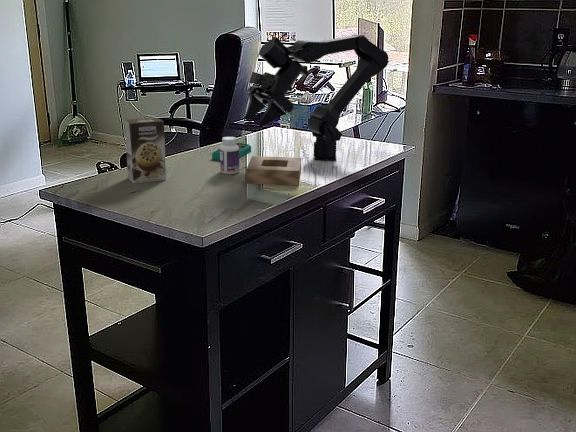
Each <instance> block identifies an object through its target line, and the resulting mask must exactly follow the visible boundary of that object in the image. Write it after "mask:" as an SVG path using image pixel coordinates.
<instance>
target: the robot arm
mask: <svg viewBox="0 0 576 432" xmlns="http://www.w3.org/2000/svg"><path fill="white" fill-rule="evenodd" d="M352 50H353V52H354V53H355V55H356V56H357V57H358V58H359V59H358V61H357V65H356V69H355V70H354V71H353V72H352V73H351V75H350V77H349V78H348V79H347V80H346V81H345V83H344V84H343V85H342V86H341V88H339V90H338V91H337V92H336V93H335V95H334V96H333V97H332V98H331V100H330V101H329V102H328V104H327V105H324V106H323V105H319V104H318V105H317V106H316V107H315V108H314V111H313V112H311V113H310V114H309V119H308V121H307V125H308V129H309V130H310V132H311V134H312V137H315V141H313V158H314V160H315V161H337V142H338V141H341V139H342V135H343V133H342V132H341V131H340V130H339V129H338V127H337V126H338V124H339V121H340V117H341V114H342V113H343V112H344V110H345V109H346V108H347V106H348V105H349V104H350V103H351V102H352V100H353V99H354V98H355V96H357V94H358V93H360V91H361V89H362V88H363V87H364V85H366V83H367V82H368V81H369V80H370V79H371V78H373V77H375V76H376V75H379V74H380V73H381V72H382V71H383V70H384V69H386V67H387V66H388V65H389V61H390V60H389V54H388V52H387V51H386V50H383V49H381V48H380V47H379V46H377V45H376V44H374V43H373V42H372V41H370V40H369V39H368V38H367V37H366V36H365V35H363V34H357V33H356V34H355V33H354V34H352V35H348V36H341V37H336V38H331V39H325V40H318V41H317V40H301V39H300V40H296V41H295V42H293V44H291V45H290V46H285V45H284V44H283V42H282V41H281V40H280V38H278V37H276V36H273V37H272V38H271V39H270V40H268V41H266V42H265V43H264V44H263V45H261V47H260V48H259V51H258V55H259V56H260V57H261V59H263V60H264V61H265V62H266V63H267V64H268V65H269V66H270V67H271V68H272V69H278V70H277V71H276V73H275V74H273V73H270V72H266V71H264V73H263V74H262V73H259V72H255V71H251V72H252V73H251V75H250V78H249V82H248V83H250V84H252V85H250V86H249V87H248V89H247V90H246V91H247V95H248V97H249V103H248V107H247V110H246V113H245V116H244V120H245V121H246V122H247V121H249V120H250V119H252V118H253V117H255V116H256V115H257V114H258V113H260V111H262V110H263V109H265V108H266V105H267V108H266V110H265V111H264V113H263V115H262V117H261V118H260V120H259V122H258V124H257V125H258V126H259V127H264V126H265V125H267V124H269V123H271V122H272V121H274V120H277V119H278V118H280V117H282V116H286V115H287V114H291V113H292V111H293V110H294V103H293V102H292V101H291V100H290V99H289V98H288V97H286V95H287V93H288V92H292V91H293V89H294V88H293V87H292V86H293V85H294V83H295V82H296V80H297V79H299V77H300V75H301V76H305V77H307V76H309V71H308V66H307V65H302V64H301V63H300V62H302V63H307V64H309V63H313V62H316V61H318V60H320V59H322V58H323V57H325V56H327V55H332V54H338V53H343V52H349V51H352ZM292 58H293V59H292ZM253 84H254V85H253Z"/></svg>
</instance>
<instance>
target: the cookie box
mask: <svg viewBox="0 0 576 432" xmlns="http://www.w3.org/2000/svg"><path fill="white" fill-rule="evenodd" d="M124 126H125V127H124V130H125V131H124V132H125V147H126V148H125V150H126V167H127V168H126V170H127V172H126V173H127V178H128V179H129V181H130V182H131V183H132V184H141V183H142V184H143V183H150V182H151V183H152V182H161V181H166V180H167V172H166V171H167V170H166V169H167V167H166V145H165V144H166V141H165V140H166V139H165V121H164V120H162V119H160V118H158V117H149V118H148V117H147V118H145V117H144V118H130V119H124Z"/></svg>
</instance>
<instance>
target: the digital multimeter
mask: <svg viewBox="0 0 576 432" xmlns="http://www.w3.org/2000/svg"><path fill="white" fill-rule="evenodd" d="M236 145H237V146H238V147H239V159H240V158H242V157H244V156H245V155H248V154H249V153H251V152H252V145H251V144H248V143H244V142H237V143H236ZM211 159H212V160H214V159H216V161H220V148H219V149H217V150H215V151H212V153H211Z"/></svg>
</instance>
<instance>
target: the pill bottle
mask: <svg viewBox="0 0 576 432" xmlns="http://www.w3.org/2000/svg"><path fill="white" fill-rule="evenodd" d="M237 139H238V138H237V137H235V136H223V137H222V142H221V143H222V144H221V145H220V147H219V149H220V160H219V161H220V162H219V167H220V168H219V169H220V173H222V174H225V175H226V174H227V175H234V174H235V175H236V174H238V173H239V172H240V158H239V147H238V146H237V145H236V143H238V141H237Z"/></svg>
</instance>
